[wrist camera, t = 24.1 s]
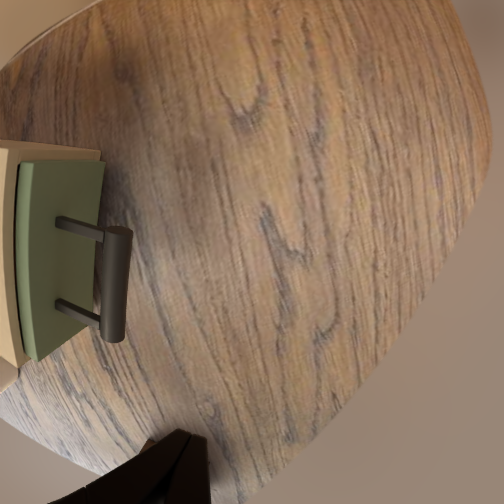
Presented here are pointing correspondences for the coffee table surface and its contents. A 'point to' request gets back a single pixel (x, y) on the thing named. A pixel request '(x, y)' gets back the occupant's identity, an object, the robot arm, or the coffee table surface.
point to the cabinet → (3, 194)
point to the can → (7, 374)
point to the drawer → (66, 255)
